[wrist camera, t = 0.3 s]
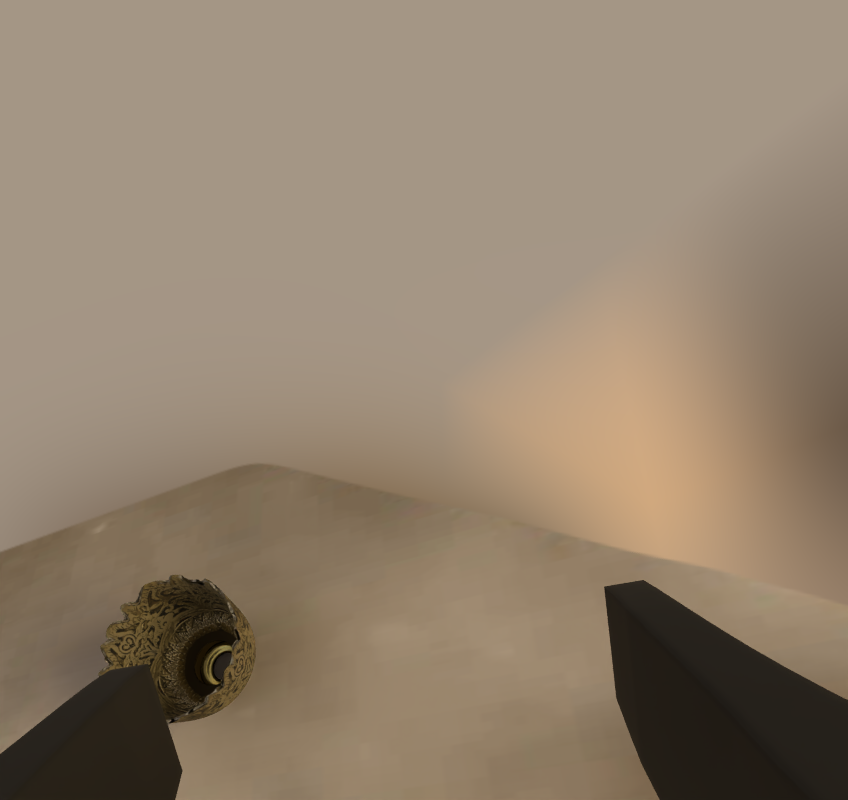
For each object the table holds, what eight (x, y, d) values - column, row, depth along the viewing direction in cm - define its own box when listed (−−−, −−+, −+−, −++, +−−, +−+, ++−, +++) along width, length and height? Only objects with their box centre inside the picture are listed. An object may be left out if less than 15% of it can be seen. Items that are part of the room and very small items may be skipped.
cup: (150, 718, 38) (71, 708, 32) (193, 598, 42) (131, 564, 35) (261, 744, 37) (204, 738, 30) (297, 616, 40) (253, 586, 34)
